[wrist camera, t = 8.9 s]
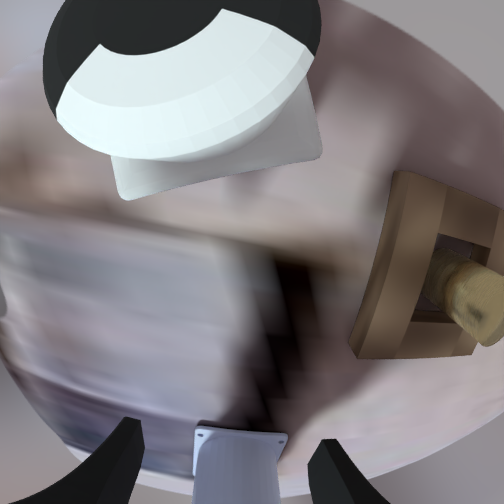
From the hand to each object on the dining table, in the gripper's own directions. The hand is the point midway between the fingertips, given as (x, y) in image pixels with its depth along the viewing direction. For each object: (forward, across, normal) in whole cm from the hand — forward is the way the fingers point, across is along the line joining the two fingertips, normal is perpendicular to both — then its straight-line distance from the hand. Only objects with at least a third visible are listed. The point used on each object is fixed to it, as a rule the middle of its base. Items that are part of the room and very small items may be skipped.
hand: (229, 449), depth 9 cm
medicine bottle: (+10, +3, -13) cm, 16 cm away
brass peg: (+9, -14, -6) cm, 18 cm away
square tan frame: (+9, -14, -6) cm, 18 cm away
